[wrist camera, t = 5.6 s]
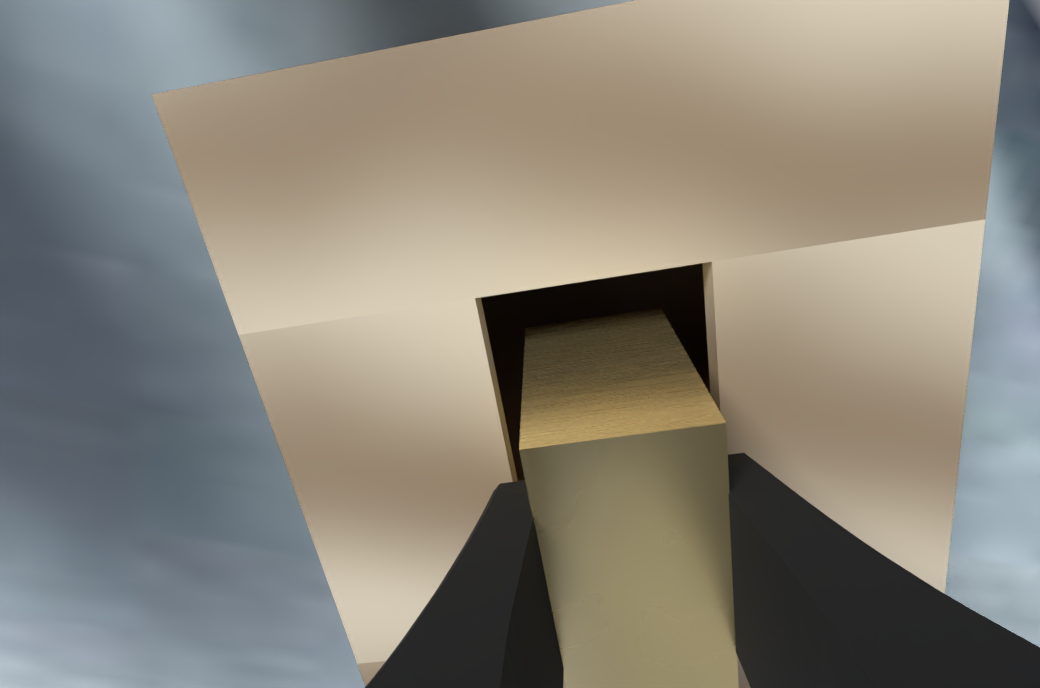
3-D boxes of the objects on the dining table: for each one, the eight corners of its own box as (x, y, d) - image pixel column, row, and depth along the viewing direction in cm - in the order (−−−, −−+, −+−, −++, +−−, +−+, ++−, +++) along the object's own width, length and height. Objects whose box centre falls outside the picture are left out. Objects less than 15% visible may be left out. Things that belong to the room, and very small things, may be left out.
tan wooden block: (680, 534, 12) (740, 720, 9) (564, 548, 13) (575, 734, 9) (660, 307, 11) (725, 422, 7) (525, 328, 11) (519, 449, 7)
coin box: (806, 538, 18) (929, 737, 12) (441, 579, 19) (399, 781, 13) (808, 3, 13) (1018, -75, 7) (308, 98, 14) (150, 94, 8)
